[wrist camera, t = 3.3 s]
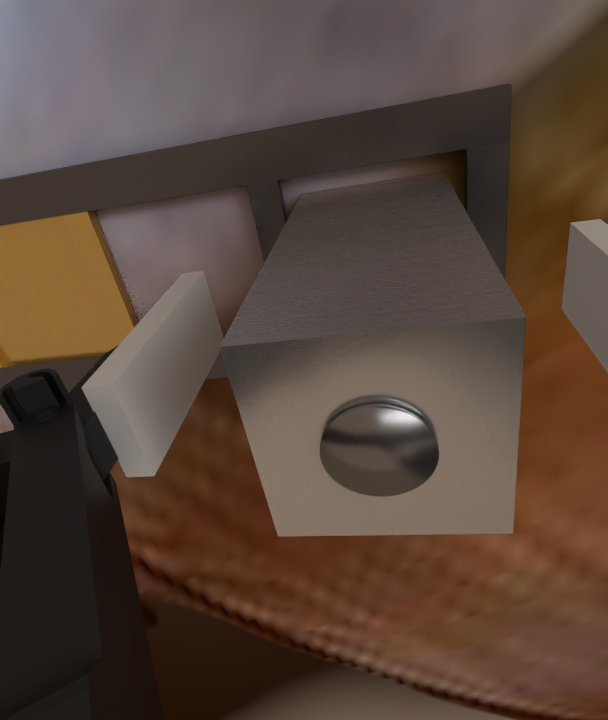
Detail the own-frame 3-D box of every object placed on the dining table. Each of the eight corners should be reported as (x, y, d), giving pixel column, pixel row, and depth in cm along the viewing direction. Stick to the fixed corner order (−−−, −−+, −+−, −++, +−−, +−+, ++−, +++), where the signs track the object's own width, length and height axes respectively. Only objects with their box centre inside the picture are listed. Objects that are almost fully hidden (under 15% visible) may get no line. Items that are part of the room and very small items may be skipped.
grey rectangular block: (447, 302, 19) (515, 541, 10) (323, 316, 20) (276, 544, 11) (443, 171, 17) (529, 323, 7) (301, 193, 18) (215, 352, 8)
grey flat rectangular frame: (499, 348, 20) (502, 354, 20) (2, 390, 25) (-4, 396, 24) (507, 84, 15) (511, 85, 15) (-113, 200, 20) (-124, 204, 19)
